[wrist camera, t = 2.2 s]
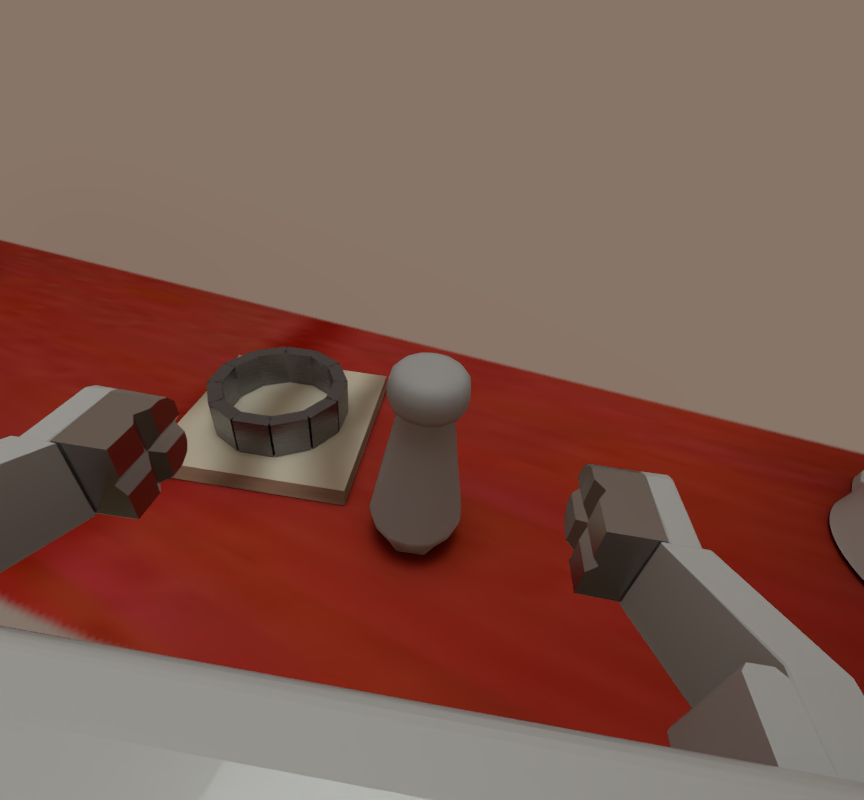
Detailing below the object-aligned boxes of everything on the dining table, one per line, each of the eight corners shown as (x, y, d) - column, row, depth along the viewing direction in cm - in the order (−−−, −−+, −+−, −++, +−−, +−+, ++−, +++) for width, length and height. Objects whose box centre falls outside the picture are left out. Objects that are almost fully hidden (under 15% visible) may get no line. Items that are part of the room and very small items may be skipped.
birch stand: (386, 389, 42) (386, 376, 41) (344, 505, 31) (344, 491, 30) (242, 368, 43) (239, 355, 42) (151, 474, 32) (145, 459, 31)
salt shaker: (395, 583, 27) (408, 417, 19) (355, 514, 30) (352, 351, 23) (473, 543, 29) (513, 383, 22) (427, 484, 33) (447, 330, 25)
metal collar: (359, 385, 40) (359, 357, 38) (324, 465, 32) (321, 434, 30) (250, 369, 40) (245, 340, 38) (189, 444, 32) (178, 412, 30)
